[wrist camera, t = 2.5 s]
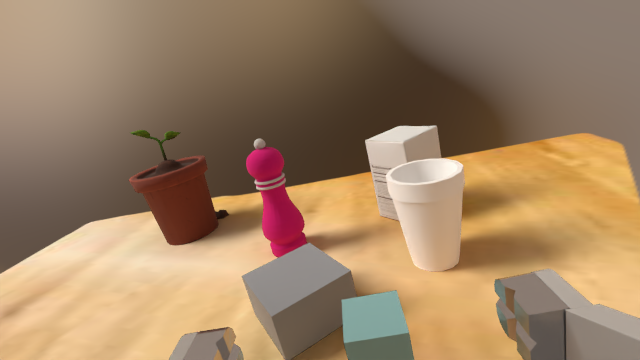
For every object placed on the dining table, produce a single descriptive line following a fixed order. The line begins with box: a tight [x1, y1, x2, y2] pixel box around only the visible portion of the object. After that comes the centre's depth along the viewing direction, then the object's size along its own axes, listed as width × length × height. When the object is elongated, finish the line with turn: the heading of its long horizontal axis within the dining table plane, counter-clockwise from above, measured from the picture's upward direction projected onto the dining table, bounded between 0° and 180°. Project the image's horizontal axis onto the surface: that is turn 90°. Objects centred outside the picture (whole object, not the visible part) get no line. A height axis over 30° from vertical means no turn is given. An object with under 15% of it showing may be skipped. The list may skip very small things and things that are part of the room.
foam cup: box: [386, 159, 465, 272], centre depth 44 cm, size 10×9×13 cm
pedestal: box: [242, 243, 357, 360], centre depth 40 cm, size 10×10×6 cm
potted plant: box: [129, 130, 229, 245], centre depth 75 cm, size 18×22×25 cm
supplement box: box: [365, 126, 441, 221], centre depth 59 cm, size 9×9×15 cm
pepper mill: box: [246, 139, 307, 257], centre depth 55 cm, size 7×7×20 cm
